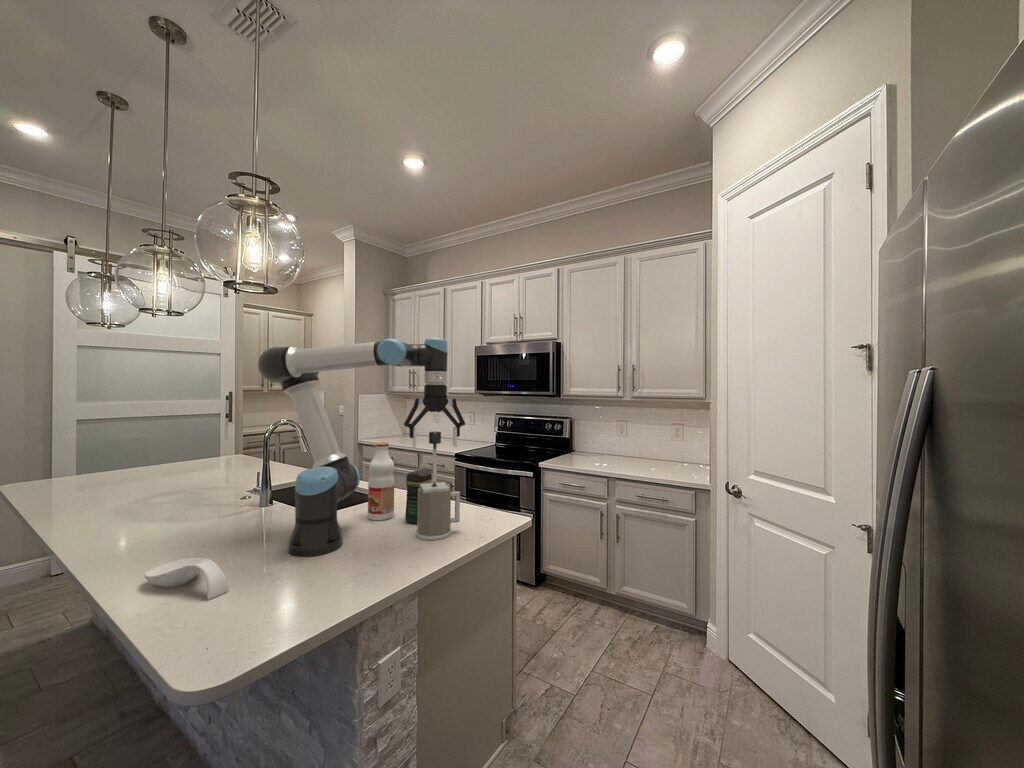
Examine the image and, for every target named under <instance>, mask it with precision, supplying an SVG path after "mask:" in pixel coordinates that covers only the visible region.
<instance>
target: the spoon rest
mask: <svg viewBox="0 0 1024 768" xmlns="http://www.w3.org/2000/svg"><path fill="white" fill-rule="evenodd" d="M200 572H202V573H203V575H204V576H205V579H206V584H207V585H206V587H207V595H206V599H207V600H212V599H214V598H217V597H220V596H221V595H223V594H226V593H228V592H229V591H230V587H229V582H228V579H227V578H226V576H225V574H224V572H223V571H222V569H221V568H220V566H218V564H217V563H216V562H215V561H213V560H211V558H203V557H188V558H182V559H178V560H177V559H176V560H173V561H168V562H166V563H163V564H160V565H158V566H155V567H153V568H151V569H148V570H147V571H146V572H145V573H144V575H143V576H144V578H145V579H146V581H147V582H149V584H152V585H156V586H159V587H162V588H172V587H177V586H181V585H184V584H186V583H189V582H190V581H192V579H193V578H195V577H196V576H197V575H198V574H199V573H200Z"/></svg>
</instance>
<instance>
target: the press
mask: <svg viewBox="0 0 1024 768" xmlns="http://www.w3.org/2000/svg"><path fill="white" fill-rule="evenodd" d="M432 484H433V482H431V483H426V484H420V488H418V507H417V523H416V524H417V526H416V531H415V537H416V538H417V539H420V540H422V541H423V540H424V541H441V540H444V539H447V538H448V537H450V536H451V535H452V528H451V524H454V523H460V521H461V520H460V518H461V517H460V514H461V513H460V510H461V507H460V505H461V493H460V491H452V490H451V488H450V486H448V485H447V484H446V482H443V481H442V482H436V487H432ZM452 497H454V517H451V512H452V511H451V508H452V507H451V505H452V504H451V501H452V499H451V498H452Z"/></svg>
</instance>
